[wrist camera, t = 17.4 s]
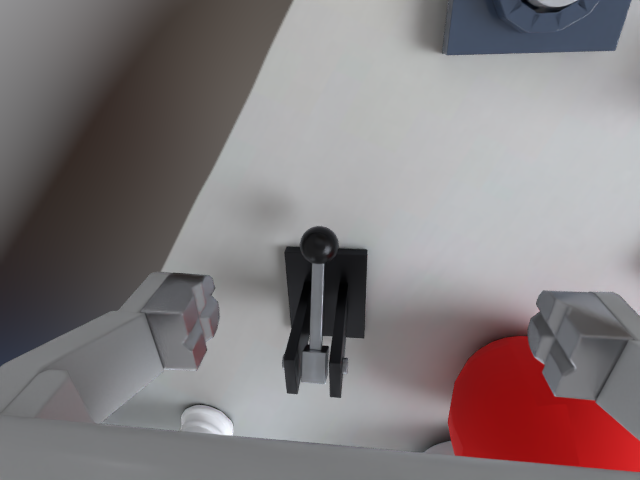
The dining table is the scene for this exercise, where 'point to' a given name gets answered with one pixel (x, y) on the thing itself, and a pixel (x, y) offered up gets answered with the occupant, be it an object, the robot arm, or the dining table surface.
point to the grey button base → (532, 26)
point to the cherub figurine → (205, 421)
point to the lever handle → (317, 301)
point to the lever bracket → (325, 311)
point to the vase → (531, 415)
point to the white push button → (550, 3)
